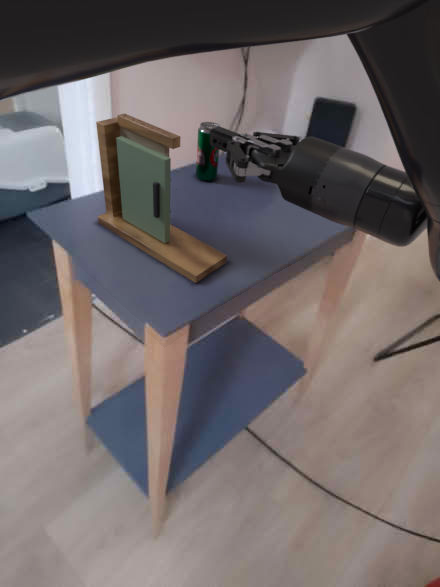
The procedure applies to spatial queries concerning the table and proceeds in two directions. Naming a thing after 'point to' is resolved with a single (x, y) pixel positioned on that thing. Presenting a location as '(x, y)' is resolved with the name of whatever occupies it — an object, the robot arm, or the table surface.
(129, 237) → the door frame
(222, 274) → the table surface
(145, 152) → the door
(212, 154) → the soda can
